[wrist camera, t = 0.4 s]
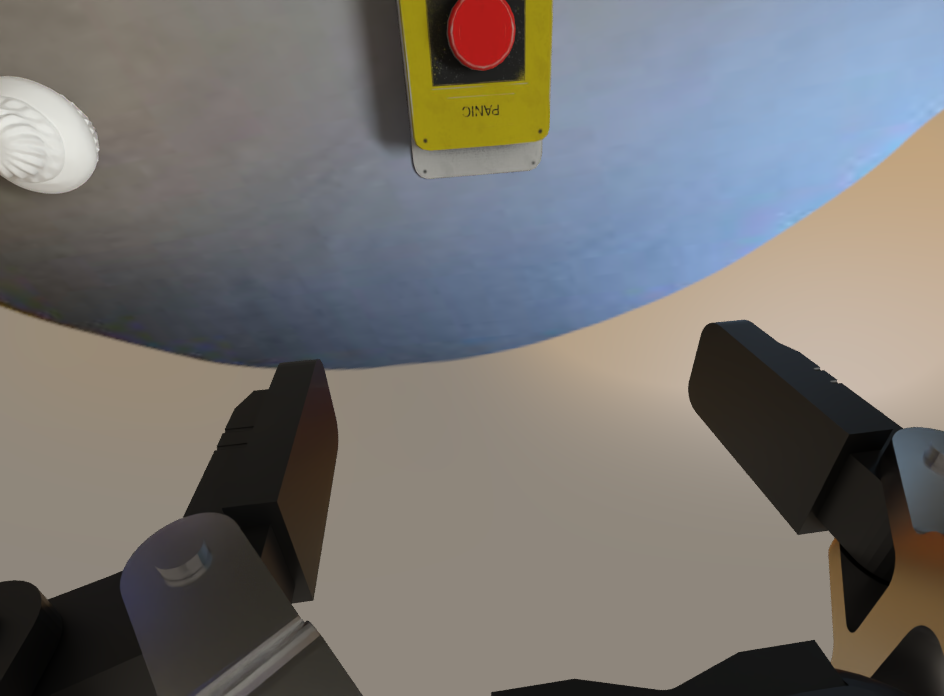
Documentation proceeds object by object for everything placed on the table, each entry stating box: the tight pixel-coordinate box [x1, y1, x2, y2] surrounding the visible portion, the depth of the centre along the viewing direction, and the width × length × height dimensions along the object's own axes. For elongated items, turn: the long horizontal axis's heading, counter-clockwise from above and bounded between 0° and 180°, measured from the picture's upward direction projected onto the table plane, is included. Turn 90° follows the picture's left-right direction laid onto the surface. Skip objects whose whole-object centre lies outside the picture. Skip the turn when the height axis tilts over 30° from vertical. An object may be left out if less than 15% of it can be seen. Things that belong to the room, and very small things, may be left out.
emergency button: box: [396, 0, 553, 179], centre depth 29 cm, size 9×4×15 cm
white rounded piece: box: [0, 76, 99, 194], centre depth 27 cm, size 6×6×7 cm
